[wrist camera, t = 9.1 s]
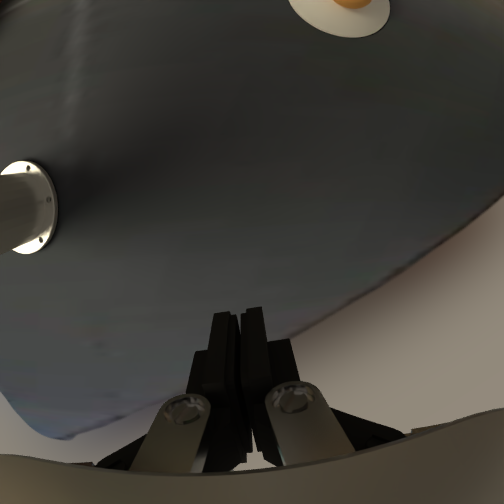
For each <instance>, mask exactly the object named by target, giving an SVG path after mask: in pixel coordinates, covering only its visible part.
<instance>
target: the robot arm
mask: <svg viewBox="0 0 504 504" xmlns="http://www.w3.org/2000/svg"><path fill="white" fill-rule="evenodd" d="M57 218H58V201H57V195H56V191H55V187H54V185H53V183H52V180H51V178H50V177H49V175H48V174H47V172H46V171H45V170H44V169H43V168H42V167H41V166H40V165H38V164H37V163H35V162H32V161H16V162H14V163H12V164H10V165H9V166H8V167H6V168H5V169H4V171H3V172H2V173H1V175H0V255H1V254H3V253H6V252H8V251H10V250H12V249H13V250H14V251H16V252H18V253H22V254H31V253H34V252H37V251H39V250H41V249H42V248H43V247H44V246H46V245H47V244H48V242H49V241H50V239H51V238H52V236H53V233H54V231H55V228H56V224H57ZM252 431H253V435H254V439H255V443H256V447H257V451H258V452H259V451H260V452H261V451H262V453H263V457H264V460H266V461H268V462H270V463H272V464H273V465H275V466H277V467H271V468H263V469H253V470H243V471H234V470H233V468H234V467H236V466H237V465H238V464H240V463H246V462H247V453H252V452H253V446H252ZM0 504H504V408H499V409H492V410H489V411H485V412H480V413H476V414H473V415H470V416H467V417H463V418H461V419H457V420H454V421H452V422H448V423H443V424H438V425H433V426H428V427H421V428H416V429H411V433H408V434H403V433H402V432H400V431H398V430H396V429H394V428H391V427H387V426H384V425H381V424H377V423H374V422H371V421H368V420H365V419H362V418H359V417H356V416H353V415H350V414H347V413H344V412H341V411H339V410H336V409H333V408H330V407H329V405H328V404H327V402H326V400H325V399H324V397H323V395H322V394H321V392H320V390H319V389H318V388H317V387H316V386H314V385H312V384H311V383H308V382H303V381H300V378H299V374H298V370H297V366H296V362H295V358H294V354H293V351H292V346H291V343H290V339H289V338H288V339H282V340H276V341H270V342H267V337H266V330H265V324H264V318H263V312H262V306H261V307H255V308H248V309H246V313H242V314H241V335H240V330H239V325H238V320H237V315H236V314H235V315H231V314H230V311H228V312H220V313H214V316H213V321H212V327H211V333H210V338H209V344H208V350H202V351H196V352H195V354H194V358H193V363H192V367H191V372H190V376H189V381H188V385H187V390H186V394H182V395H178V396H175V397H173V398H171V399H169V400H168V401H167V402H165V403H164V404H163V405H162V407H161V408H160V410H159V412H158V413H157V415H156V417H155V420H154V421H153V423H152V425H151V427H150V429H149V431H148V433H147V434H145V435H144V436H142V437H141V438H139V439H137V440H135V441H134V442H132V443H130V444H128V445H127V446H125V447H123V448H121V449H120V450H118V451H116V452H114V453H112V454H111V455H109V456H107V457H105V458H104V459H102V460H101V461H99V462H98V463H97V465H94V464H93V462H85V463H63V462H57V461H51V460H45V459H40V458H35V457H30V456H21V455H13V454H0Z"/></svg>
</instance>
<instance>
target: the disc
mask: <svg viewBox="0 0 504 504" xmlns="http://www.w3.org/2000/svg"><path fill="white" fill-rule="evenodd" d="M289 2H290V4H291V6H292V8H293V9H294V10H295V12H296V13H297V14H298V15H299V16H300V17H301V18H302V19H303V20H305V21H306V22H307V23H309V24H310V25H312V26H314V27H315V28H317V29H319V30H321V31H323V32H326V33H329V34H332V35H336V36H340V37H348V38H358V37H364V36H368V35H371V34H373V33H375V32H377V31H378V30H380V29H381V28H382V27H383V26H384V24H385V23H386V22H387V19H388V17H389V13H390V3H389V0H372V1H371V2H370V3H369V4H368V5H367V6H365V7H362V8H358V9H350V8H345V7H343V6H340V5H339V4H337V3H336V2H334V1H333V0H289Z"/></svg>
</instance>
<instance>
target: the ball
mask: <svg viewBox="0 0 504 504" xmlns="http://www.w3.org/2000/svg"><path fill="white" fill-rule="evenodd" d="M333 1H334V2H336V3H337V4H339V5H340V6H343V7H345V8H350V9H358V8H362V7H365V6H367V5H368V4H369V3H370V2H371V1H372V0H333Z"/></svg>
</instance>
